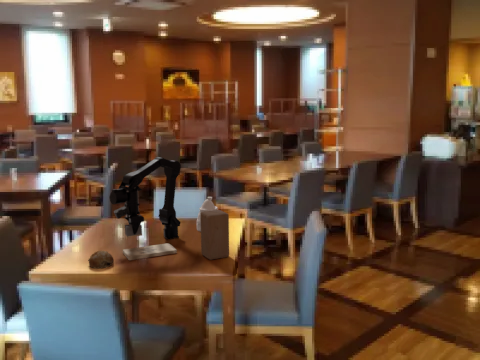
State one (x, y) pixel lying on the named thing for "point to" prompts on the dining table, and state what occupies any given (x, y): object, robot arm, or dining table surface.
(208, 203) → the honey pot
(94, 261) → the brown dome
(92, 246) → the dining table surface
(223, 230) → the wooden block
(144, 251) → the board
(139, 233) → the block
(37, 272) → the dining table surface
